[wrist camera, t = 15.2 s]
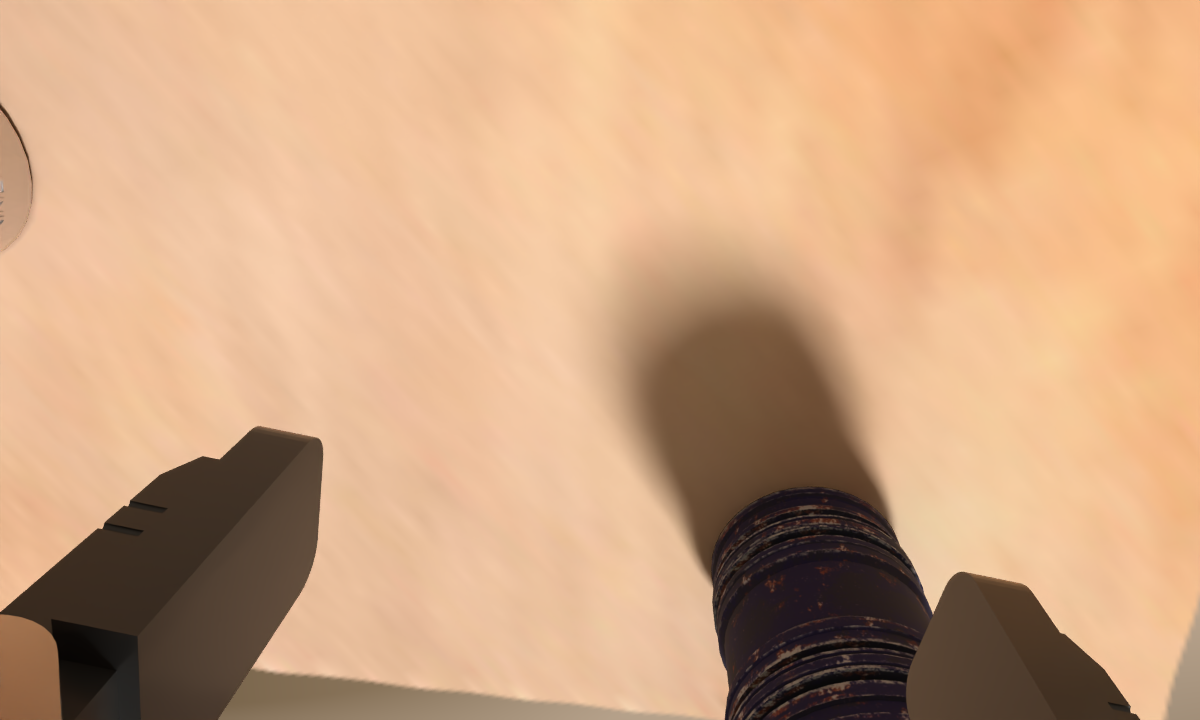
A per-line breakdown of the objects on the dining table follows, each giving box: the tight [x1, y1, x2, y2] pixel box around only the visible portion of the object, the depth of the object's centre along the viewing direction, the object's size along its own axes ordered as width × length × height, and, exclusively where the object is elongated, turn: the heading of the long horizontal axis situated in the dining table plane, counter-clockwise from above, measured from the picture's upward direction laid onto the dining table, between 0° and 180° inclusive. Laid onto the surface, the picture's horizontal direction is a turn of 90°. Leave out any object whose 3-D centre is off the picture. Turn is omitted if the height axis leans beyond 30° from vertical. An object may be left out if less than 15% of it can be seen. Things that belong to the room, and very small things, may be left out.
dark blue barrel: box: [711, 487, 933, 720], centre depth 34 cm, size 10×10×15 cm
